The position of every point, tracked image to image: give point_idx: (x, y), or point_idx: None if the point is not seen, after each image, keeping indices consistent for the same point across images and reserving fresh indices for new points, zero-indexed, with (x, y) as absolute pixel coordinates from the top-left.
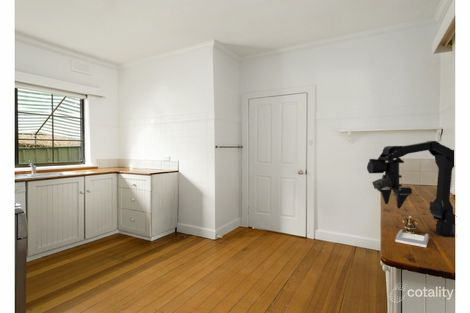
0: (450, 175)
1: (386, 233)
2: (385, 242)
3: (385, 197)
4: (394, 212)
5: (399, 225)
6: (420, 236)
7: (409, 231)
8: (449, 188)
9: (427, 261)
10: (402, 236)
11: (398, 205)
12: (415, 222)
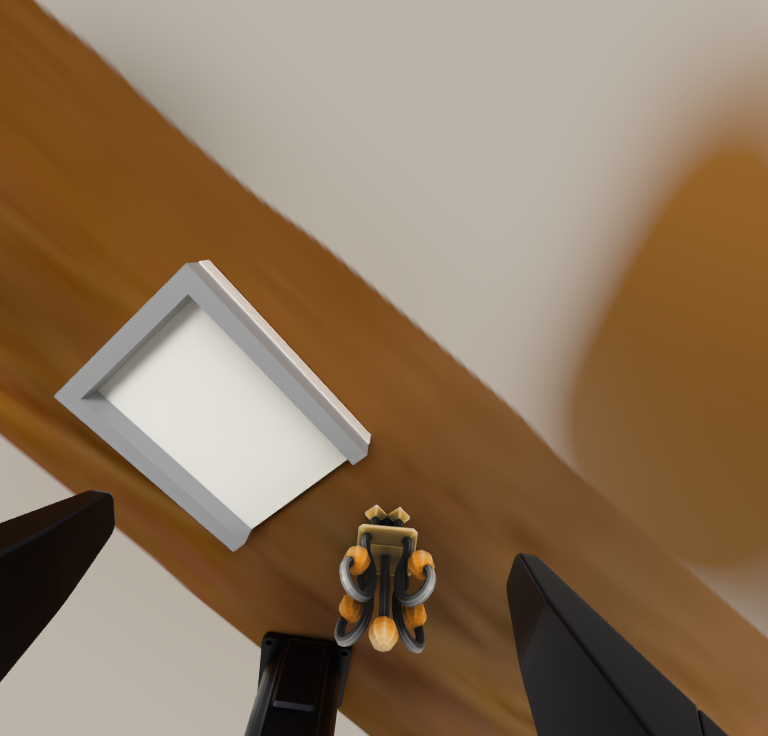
0: None
1: (407, 344)
2: (198, 154)
3: (602, 732)
4: None
5: None
6: (249, 495)
7: (374, 518)
8: None
9: None
10: (262, 373)
11: (5, 529)
12: (348, 610)
